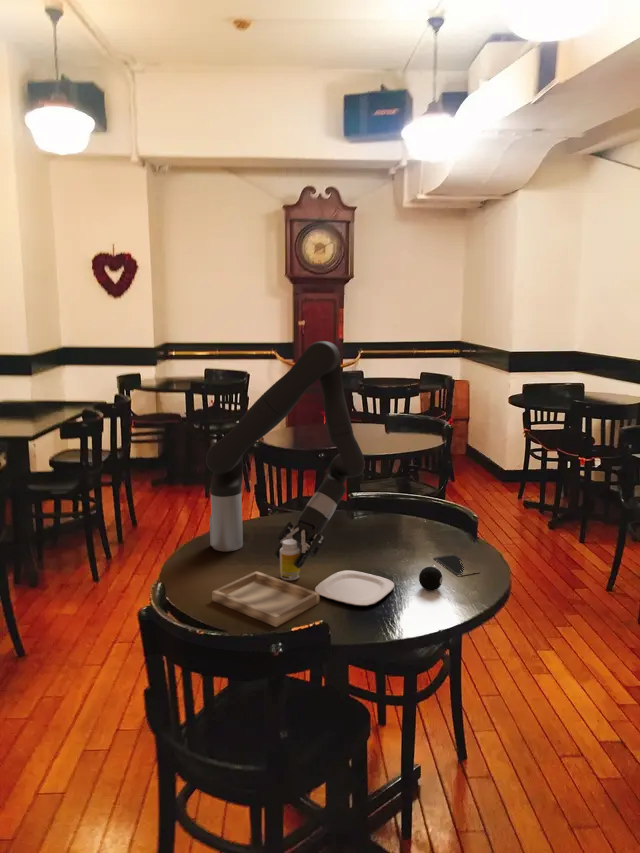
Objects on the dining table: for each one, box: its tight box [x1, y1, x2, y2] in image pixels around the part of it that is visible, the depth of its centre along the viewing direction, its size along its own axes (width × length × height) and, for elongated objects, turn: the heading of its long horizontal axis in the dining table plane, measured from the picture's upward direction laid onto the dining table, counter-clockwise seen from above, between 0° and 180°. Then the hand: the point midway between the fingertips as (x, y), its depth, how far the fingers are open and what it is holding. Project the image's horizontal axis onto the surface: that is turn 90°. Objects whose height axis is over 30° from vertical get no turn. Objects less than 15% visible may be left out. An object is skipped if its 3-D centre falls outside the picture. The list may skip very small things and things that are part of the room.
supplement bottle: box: [279, 539, 301, 581], centre depth 184 cm, size 6×6×10 cm
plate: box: [314, 569, 395, 607], centre depth 176 cm, size 18×18×2 cm
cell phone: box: [433, 553, 464, 576], centre depth 192 cm, size 7×14×1 cm, turn 21°
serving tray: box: [211, 570, 320, 628], centre depth 170 cm, size 22×16×2 cm
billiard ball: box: [418, 566, 443, 591], centre depth 177 cm, size 6×6×6 cm
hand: (286, 561), depth 183 cm, fingers open, 8 cm apart
